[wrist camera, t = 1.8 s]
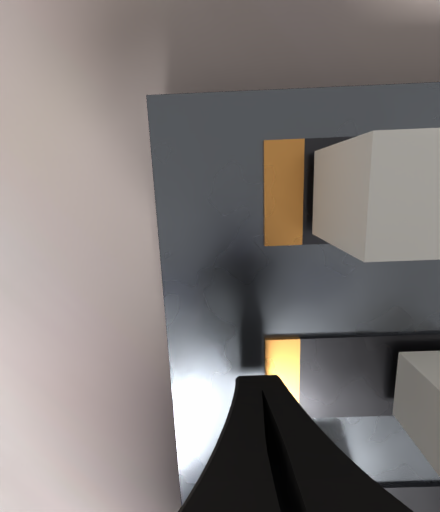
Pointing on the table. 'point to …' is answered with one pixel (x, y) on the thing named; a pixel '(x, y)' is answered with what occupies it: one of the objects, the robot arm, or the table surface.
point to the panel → (285, 273)
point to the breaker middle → (420, 401)
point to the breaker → (380, 195)
